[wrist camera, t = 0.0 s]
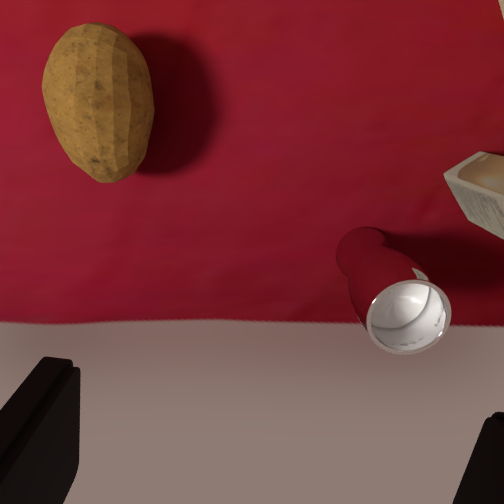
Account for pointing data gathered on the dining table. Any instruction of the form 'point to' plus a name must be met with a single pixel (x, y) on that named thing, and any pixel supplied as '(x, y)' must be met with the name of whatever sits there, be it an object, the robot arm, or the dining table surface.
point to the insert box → (502, 6)
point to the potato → (99, 100)
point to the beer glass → (392, 293)
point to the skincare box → (480, 190)
